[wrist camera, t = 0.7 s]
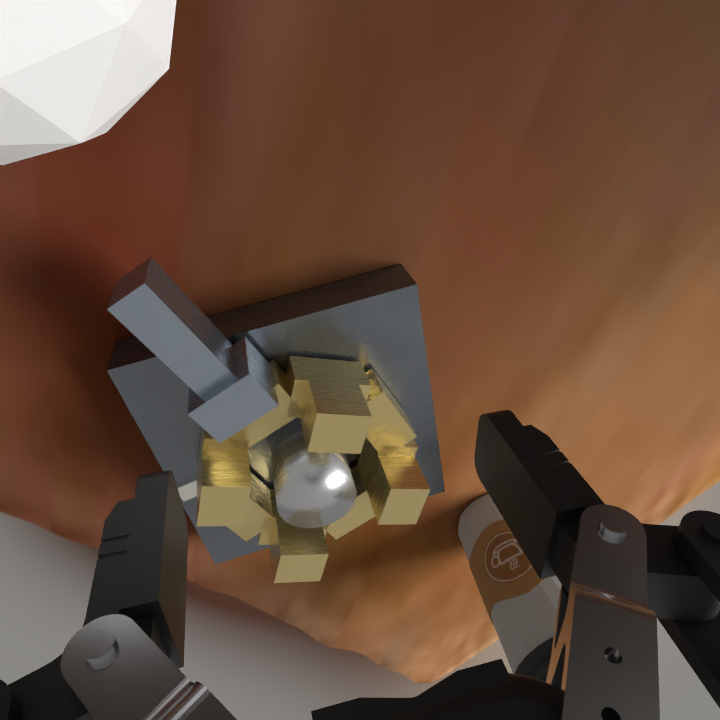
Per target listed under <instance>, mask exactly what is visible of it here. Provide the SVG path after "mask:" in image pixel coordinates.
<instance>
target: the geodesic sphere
mask: <svg viewBox="0 0 720 720" xmlns="http://www.w3.org/2000/svg"><path fill="white" fill-rule="evenodd" d="M175 8H176V0H0V165H5V164H9V163H12V162H16V161H19V160H23V159H26V158H30V157H33V156H37V155H40V154H44V153H48V152H51V151H55V150H58V149H62V148H65V147H69V146H72V145H76V144H79V143H82V142H85V141H87V140H90V139H92V138H94V137H97V136H99V135H102V134H104V133H106V132H107V131H108V130H109V129H110V128H111V127H112V126H113V125H114V124H115V123H116V122H117V121H118V120H119V119H120V118H121V117H122V116H123V115H124V114H125V113H126V112H127V111H128V110H129V109H130V108H131V107H132V106H133V105H134V104H135V103H136V102H137V101H138V100H139V99H140V98H141V97H142V96H143V95H144V94H145V93H146V92H147V91H148V90H149V89H150V88H151V87H152V86H153V85H154V84H155V83H156V81H157V80H158V79H159V78H160V77H161V76H162V75H163V74H164V73H165V72H166V71H167V70H168V69H169V63H170V54H171V45H172V36H173V26H174V17H175Z"/></svg>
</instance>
